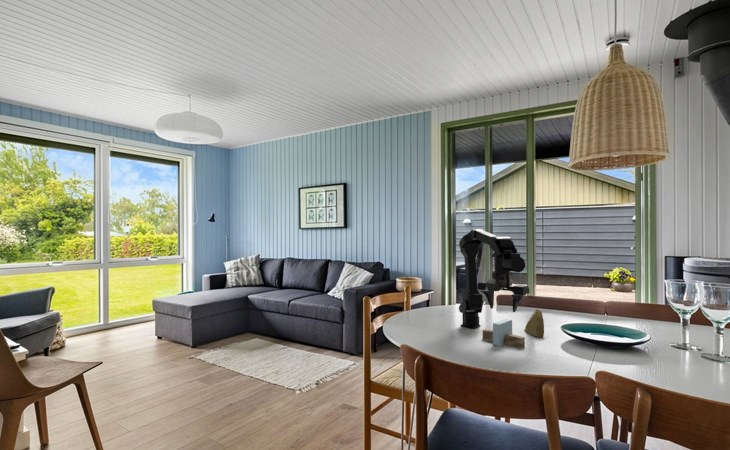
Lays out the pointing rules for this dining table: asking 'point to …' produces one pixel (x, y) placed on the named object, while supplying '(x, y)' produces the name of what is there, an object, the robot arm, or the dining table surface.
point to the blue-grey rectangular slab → (501, 331)
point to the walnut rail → (510, 338)
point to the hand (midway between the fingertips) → (502, 310)
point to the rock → (535, 324)
